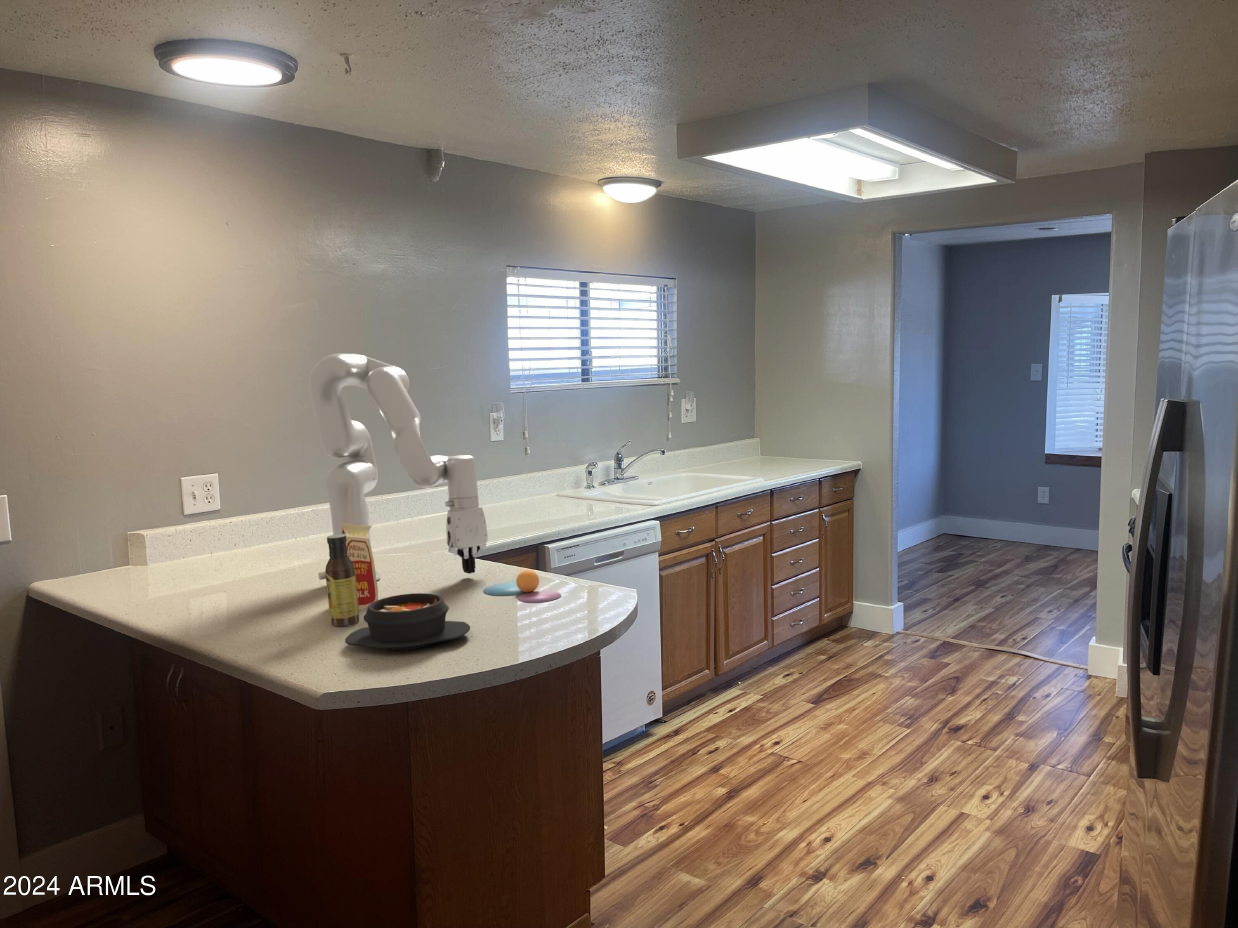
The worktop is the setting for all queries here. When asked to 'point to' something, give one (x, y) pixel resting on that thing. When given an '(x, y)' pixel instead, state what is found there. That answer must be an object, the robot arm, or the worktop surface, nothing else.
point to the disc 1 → (503, 589)
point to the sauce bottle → (341, 583)
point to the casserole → (407, 623)
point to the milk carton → (362, 562)
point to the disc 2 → (539, 596)
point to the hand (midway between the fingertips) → (469, 572)
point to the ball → (527, 580)
